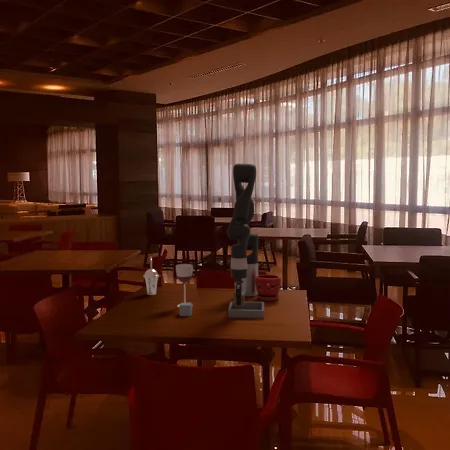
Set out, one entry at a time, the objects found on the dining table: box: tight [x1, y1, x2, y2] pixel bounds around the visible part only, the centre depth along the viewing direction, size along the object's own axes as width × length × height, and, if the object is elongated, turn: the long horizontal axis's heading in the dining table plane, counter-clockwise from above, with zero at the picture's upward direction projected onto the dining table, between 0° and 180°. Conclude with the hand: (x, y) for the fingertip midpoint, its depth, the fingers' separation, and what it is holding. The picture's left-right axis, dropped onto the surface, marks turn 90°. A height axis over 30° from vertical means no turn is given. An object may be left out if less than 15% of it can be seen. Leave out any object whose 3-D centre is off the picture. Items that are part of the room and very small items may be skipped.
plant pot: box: [255, 274, 282, 302], centre depth 265 cm, size 13×13×12 cm
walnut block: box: [232, 292, 246, 306], centre depth 238 cm, size 5×5×5 cm
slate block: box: [179, 302, 193, 317], centre depth 237 cm, size 5×5×5 cm
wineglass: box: [175, 263, 194, 308], centre depth 253 cm, size 8×9×20 cm
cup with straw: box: [143, 256, 160, 296], centre depth 278 cm, size 8×9×20 cm
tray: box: [227, 301, 265, 319], centre depth 238 cm, size 16×16×4 cm
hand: (239, 303), depth 238 cm, fingers closed on walnut block, 5 cm apart
